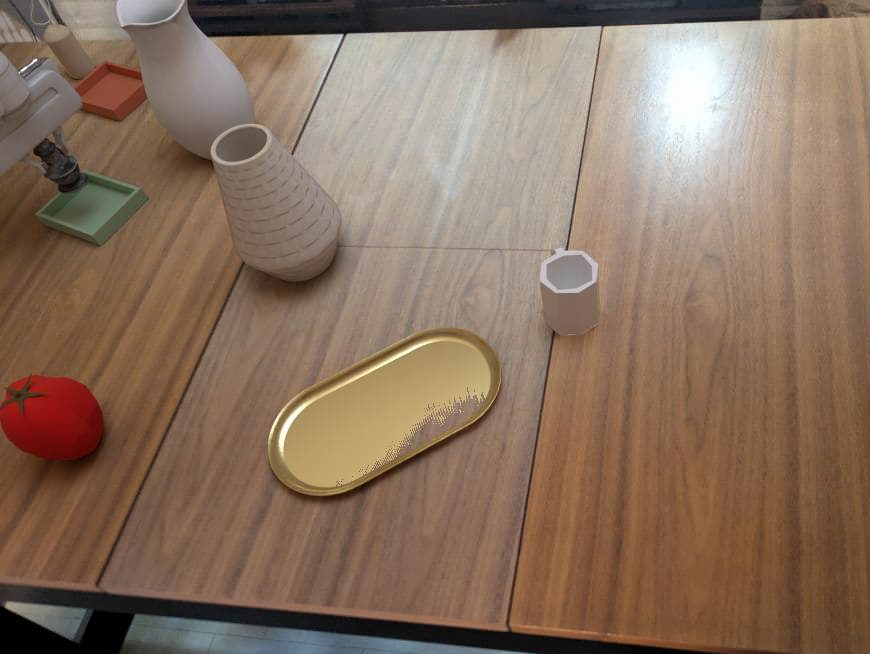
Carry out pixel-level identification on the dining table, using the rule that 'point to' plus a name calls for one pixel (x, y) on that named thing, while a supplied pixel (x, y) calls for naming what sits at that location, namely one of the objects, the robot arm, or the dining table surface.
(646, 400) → the dining table surface
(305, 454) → the serving platter
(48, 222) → the green tray
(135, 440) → the dining table surface
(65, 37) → the candle
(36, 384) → the tomato
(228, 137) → the vase
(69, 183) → the dark grey figurine
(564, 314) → the mug
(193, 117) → the pitcher
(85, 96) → the terracotta tray
